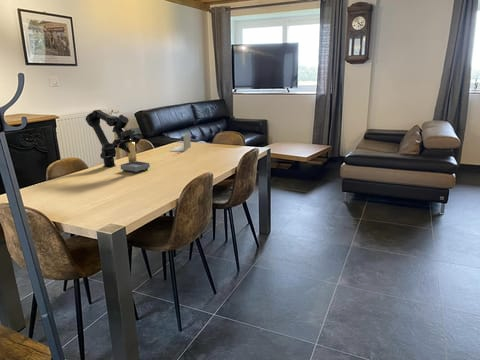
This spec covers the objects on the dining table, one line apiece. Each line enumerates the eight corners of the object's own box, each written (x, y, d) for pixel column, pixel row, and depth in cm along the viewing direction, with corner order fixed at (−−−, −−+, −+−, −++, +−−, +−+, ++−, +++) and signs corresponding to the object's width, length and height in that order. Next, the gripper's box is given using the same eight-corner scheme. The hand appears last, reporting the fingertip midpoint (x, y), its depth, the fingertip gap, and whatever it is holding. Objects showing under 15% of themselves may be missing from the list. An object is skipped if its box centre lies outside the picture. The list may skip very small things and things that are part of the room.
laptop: (176, 147, 312) (175, 132, 308) (190, 147, 310) (190, 132, 306) (169, 151, 295) (168, 135, 291) (184, 151, 293) (183, 135, 289)
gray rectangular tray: (121, 171, 237) (120, 164, 235) (134, 167, 247) (134, 160, 245) (136, 173, 230) (135, 167, 229) (150, 169, 240) (149, 163, 238)
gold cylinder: (127, 162, 230) (125, 143, 226) (130, 160, 235) (128, 141, 231) (134, 162, 229) (132, 143, 226) (137, 161, 234) (136, 141, 230)
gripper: (112, 126, 221) (124, 146, 217) (137, 123, 234) (149, 141, 231) (106, 138, 228) (118, 157, 224) (131, 134, 241) (143, 152, 238)
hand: (133, 152), depth 229 cm, fingers closed on gold cylinder, 5 cm apart
